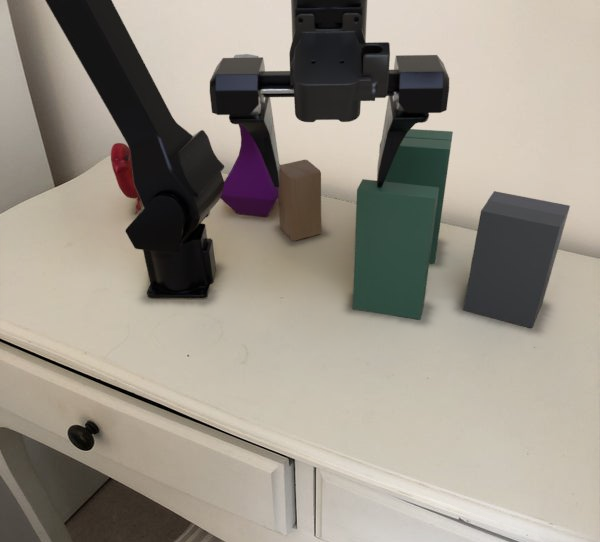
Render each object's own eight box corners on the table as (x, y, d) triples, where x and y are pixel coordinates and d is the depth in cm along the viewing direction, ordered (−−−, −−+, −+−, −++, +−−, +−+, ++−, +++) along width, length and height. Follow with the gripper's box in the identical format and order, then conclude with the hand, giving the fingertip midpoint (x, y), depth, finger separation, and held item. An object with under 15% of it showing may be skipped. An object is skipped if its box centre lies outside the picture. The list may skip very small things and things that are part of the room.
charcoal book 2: (468, 299, 67) (487, 200, 59) (475, 288, 68) (494, 190, 61) (536, 316, 64) (565, 215, 57) (541, 305, 66) (570, 205, 58)
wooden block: (307, 220, 80) (306, 157, 75) (322, 234, 78) (322, 170, 72) (278, 228, 79) (275, 164, 73) (292, 242, 76) (290, 177, 71)
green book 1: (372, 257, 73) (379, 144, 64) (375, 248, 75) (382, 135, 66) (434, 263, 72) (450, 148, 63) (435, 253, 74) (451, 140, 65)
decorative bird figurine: (118, 233, 79) (99, 152, 72) (143, 172, 92) (128, 98, 85) (142, 232, 79) (125, 152, 72) (163, 171, 92) (150, 98, 85)
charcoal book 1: (462, 310, 66) (480, 210, 58) (469, 299, 67) (487, 200, 59) (531, 328, 63) (560, 226, 56) (537, 316, 64) (565, 215, 57)
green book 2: (352, 309, 66) (356, 189, 57) (357, 297, 68) (362, 178, 59) (420, 319, 65) (435, 198, 56) (423, 307, 66) (439, 187, 57)
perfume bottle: (276, 224, 80) (267, 67, 67) (219, 218, 81) (200, 64, 69) (291, 197, 85) (286, 47, 72) (238, 192, 86) (223, 44, 74)
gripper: (184, 12, 42) (212, 229, 53) (474, 6, 41) (442, 229, 52) (209, -23, 50) (229, 171, 61) (451, -28, 49) (428, 170, 60)
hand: (328, 185), depth 58 cm, fingers open, 9 cm apart
